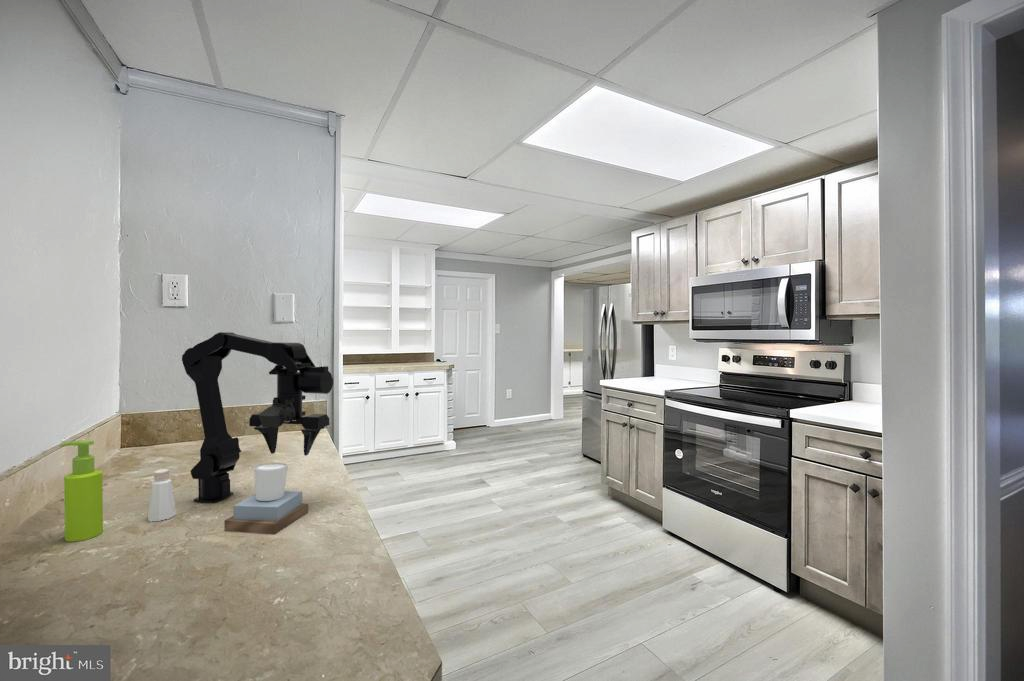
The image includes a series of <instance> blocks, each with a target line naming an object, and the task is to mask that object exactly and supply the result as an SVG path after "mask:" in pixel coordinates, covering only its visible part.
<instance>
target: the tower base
mask: <svg viewBox="0 0 1024 681" xmlns="http://www.w3.org/2000/svg"><path fill="white" fill-rule="evenodd" d="M308 513H309V503H305V502H304V503H303V502H302V505H300V506H299V507H297V508H296V509H294V510H293V511H292V512H290V513H289V514H287V515H286V516H284V517H283V518H281V519H280V520H278V521H262V520H234V515H232V516H231V517H228V518H226V519H225V520H224V531H225V532H238V533H239V532H240V533H249V534H250V533H251V534H252V533H253V534H266V535H276V534H278V533H280V532H281V531H282V530H284V529H285V528H287V527H288V526H289V525H292V524H293V523H294V521H295V522H296V521H297V520H299V519H301V518H303V516H305V515H307V514H308ZM283 528H284V529H283ZM280 530H281V531H280ZM277 532H278V533H277Z"/></svg>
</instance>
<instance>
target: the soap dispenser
mask: <svg viewBox="0 0 1024 681" xmlns="http://www.w3.org/2000/svg"><path fill="white" fill-rule="evenodd" d="M94 443H95V441H94V440H74V441H73V440H72V441H70V442H65V443H62V444H61V443H60V444H59V447H62V448H63V447H67V446H77V456H75V457H74V458H72V459H71V460H72V472H71V473H69V474H67V475H65V476H64V477H63V481H64V482H63V486H64V489H63V490H64V495H63V496H64V500H63V501H64V541H66V542H70V543H71V542H81V541H86V540H90V539H93V538H95V537H98V536H100V535H101V534H103V532H104V519H103V518H104V516H103V515H104V511H103V510H104V507H103V504H104V503H103V502H104V501H103V500H104V497H103V493H104V492H103V470H99V469H95V456H94V455H92V454H90V448H89V447H90V446H91V445H94Z"/></svg>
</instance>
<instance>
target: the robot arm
mask: <svg viewBox="0 0 1024 681" xmlns="http://www.w3.org/2000/svg"><path fill="white" fill-rule="evenodd" d="M232 351H235V352H236V351H237V352H241V353H244V354H245V353H246V354H251V355H253V356H254V355H255V356H259V357H262V358H264V359H266V360H267V361H268V362H269V363H272V364H275V366H274V367H273V368H272V369H270V370H269V372H268V375H270V376H271V375H275V376H277V377H276V381H277V382H276V384H277V385H276V397H273V399H272V404H271V405H270V406H268V407H266V408H265V409H264V410H263V411H262V412H258V413H254V414H253V413H252V415H251V416H250V417H249V419H248V426H249V427H253V429H254V430H256V431H258V432H260V434H262V436H263V438H264V441H265V443H266V445H267V447H268V450H269V452H270V454H275V453H276V450H277V445H278V443H277V442H278V436H279V428H280V427H281V426H283V425H286V424H287V425H301V426H302V427H303V429H301V433H302V434H303V456H306V457H307V456H308V455H309V453H310V451H311V449H312V447H313V444H314V443H315V440H316V438H317V437H318V435H319V433H320V431H321V430H323V429H325V427H327V426H330V417H329V415H328V414H326V413H313V414H310V415H309V414H308V415H306V411H303V400H306V395H303V393H304V394H316V395H317V394H318V395H319V394H325V395H329V393H330V392H331V391H332V388H333V385H334V378H333V375H332V374H331V372H330V371H329V366H328V365H327V366H326V365H325V366H316V365H315V363H314V362H313V360H312V359H311V357H310V355H308V353H307V350H306V347H305V345H304V344H302V343H300V342H276V341H275V342H273V341H269V340H268V341H267V340H264V339H260V338H256V337H255V338H254V337H250V336H246V335H241V334H237V333H235V332H226V331H225V332H222V331H221V332H216V333H215V334H214V335H212V336H211V337H210V338H208V339H205V340H204V341H201V342H199V343H197V344H196V345H194V346H193V347H190V348H187V349H186V350H185V351H184V353H183V354H182V356H181V362H182V365H183V368H184V370H185V374H186V375H187V376H188V377H189V378H190V380H192V381H193V382H194V385H195V389H196V395H197V402H198V408H199V413H200V416H201V422H202V429H203V435H204V438H203V441H202V444H201V447H200V450H199V454H200V456H199V457H200V460H199V461H198V462H197V463H195V465H194V466H193V467H192V468H191V470H190V475H191V477H192V479H193V480H198V481H197V482H198V496H197V497H195V498H193V502H199V503H218V502H219V501H222V500H224V499H226V498H228V497H230V496H233V495H235V492H234V491H231V479H230V472H231V471H234V470H235V467H236V465H237V464H236V463H237V462H238V461H239V460H240V455H241V454H240V453H242V450H241V448H240V444H239V443H240V441H239V438H238V437H237V436H235V437H233V436H231V435H230V434H229V432H228V428H227V423H226V419H225V414H224V413H225V412H224V406H223V402H222V396H221V390H220V386H219V377H220V374H221V372H222V370H223V360H224V359H226V358H227V357H228V356H229V355H230V354H231V352H232Z"/></svg>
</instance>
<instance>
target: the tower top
mask: <svg viewBox="0 0 1024 681" xmlns="http://www.w3.org/2000/svg"><path fill="white" fill-rule="evenodd" d="M302 503H303V491H297V490H296V491H295V490H293V491H290V490H284V496H283V497H282V498H280V499H277V500H272V501H259V500H257V499H256V493H255V494H253V495H251V496H249V497H247V498H245V499H244V500H241V501H240V502H239V503H236V504H234V505H233V516H234V520H262V521H278V520H280V519H281V518H283V517H284V516H286V515H287V514H289V513H290V512H292V511H293V510H294V509H296V508H297V507H299V506H300V505H302Z"/></svg>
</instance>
